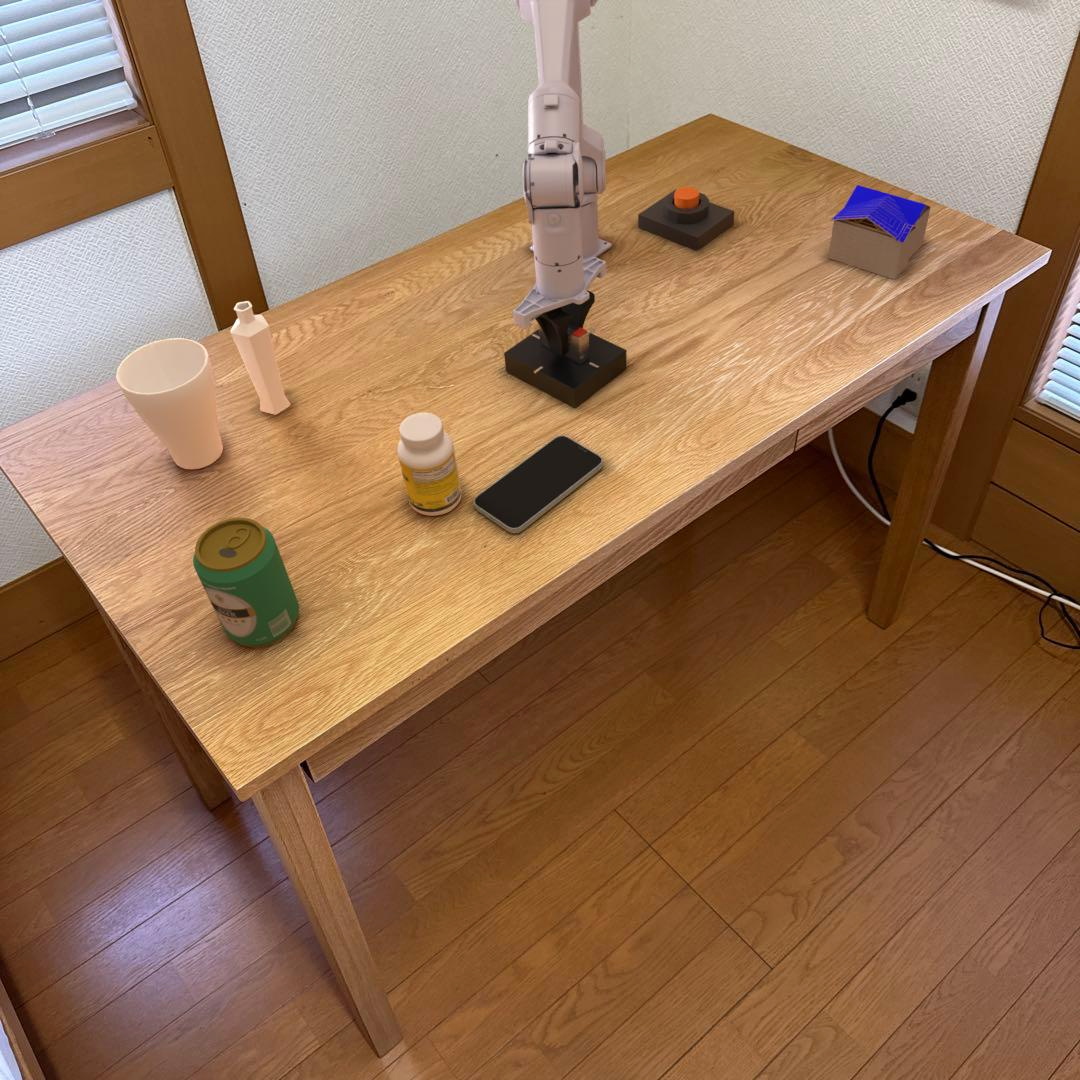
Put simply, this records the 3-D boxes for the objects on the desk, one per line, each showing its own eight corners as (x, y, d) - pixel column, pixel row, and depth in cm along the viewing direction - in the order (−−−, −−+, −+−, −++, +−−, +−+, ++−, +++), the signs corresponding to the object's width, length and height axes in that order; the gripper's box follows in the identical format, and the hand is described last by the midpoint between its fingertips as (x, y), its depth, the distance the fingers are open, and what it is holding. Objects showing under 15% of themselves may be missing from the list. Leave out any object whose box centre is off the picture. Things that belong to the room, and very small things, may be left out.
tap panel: (502, 374, 135) (500, 354, 133) (560, 332, 140) (559, 313, 138) (572, 410, 129) (570, 390, 127) (629, 366, 134) (629, 346, 132)
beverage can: (210, 640, 108) (172, 563, 99) (251, 584, 113) (218, 506, 104) (276, 659, 106) (243, 582, 97) (315, 601, 111) (286, 522, 102)
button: (669, 205, 154) (669, 194, 153) (684, 195, 156) (684, 184, 154) (688, 212, 152) (689, 201, 151) (703, 202, 154) (704, 191, 153)
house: (895, 281, 143) (906, 229, 137) (825, 258, 148) (832, 207, 142) (929, 246, 148) (940, 194, 143) (860, 225, 153) (868, 174, 148)
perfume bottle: (300, 397, 135) (270, 298, 124) (281, 418, 132) (248, 319, 121) (271, 390, 136) (239, 291, 125) (251, 410, 134) (217, 311, 123)
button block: (638, 227, 157) (638, 203, 154) (675, 202, 161) (675, 178, 159) (697, 251, 152) (698, 226, 149) (733, 224, 156) (735, 199, 153)
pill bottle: (412, 481, 123) (395, 408, 115) (464, 479, 122) (451, 406, 114) (405, 519, 118) (388, 446, 110) (460, 517, 118) (446, 444, 110)
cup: (167, 494, 124) (126, 406, 114) (147, 444, 131) (107, 356, 121) (251, 462, 127) (219, 373, 117) (228, 415, 133) (195, 327, 124)
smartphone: (469, 501, 118) (560, 432, 125) (470, 506, 119) (561, 438, 126) (514, 532, 114) (606, 459, 121) (515, 537, 115) (607, 465, 122)
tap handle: (540, 344, 134) (537, 316, 131) (549, 337, 135) (547, 309, 132) (580, 365, 130) (579, 337, 127) (590, 358, 131) (588, 330, 128)
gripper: (540, 292, 117) (548, 388, 127) (624, 237, 124) (625, 332, 133) (496, 271, 121) (507, 366, 130) (580, 219, 127) (584, 312, 137)
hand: (564, 347), depth 132 cm, fingers closed on tap handle, 2 cm apart
